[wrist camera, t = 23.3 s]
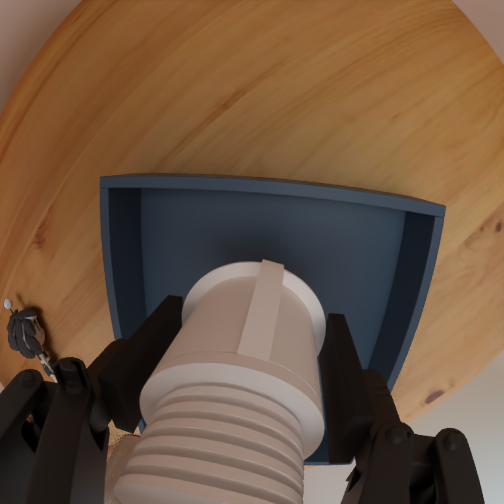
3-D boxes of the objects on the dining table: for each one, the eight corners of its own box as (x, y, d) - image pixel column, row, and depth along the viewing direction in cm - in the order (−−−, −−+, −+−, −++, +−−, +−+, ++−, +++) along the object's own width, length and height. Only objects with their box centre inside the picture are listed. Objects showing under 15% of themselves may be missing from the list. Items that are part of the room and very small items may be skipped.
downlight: (294, 396, 15) (287, 558, 5) (176, 365, 15) (99, 509, 5) (349, 272, 12) (440, 470, 3) (198, 231, 13) (27, 369, 3)
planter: (155, 470, 37) (115, 563, 16) (111, 439, 36) (57, 532, 14) (189, 463, 35) (149, 577, 13) (140, 428, 33) (79, 546, 11)
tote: (137, 173, 23) (99, 176, 17) (412, 196, 21) (446, 206, 15) (158, 406, 31) (142, 437, 25) (345, 428, 29) (351, 464, 23)
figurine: (82, 384, 31) (29, 292, 27) (51, 408, 27) (-9, 315, 22) (67, 368, 35) (22, 286, 30) (39, 388, 30) (-10, 306, 26)
